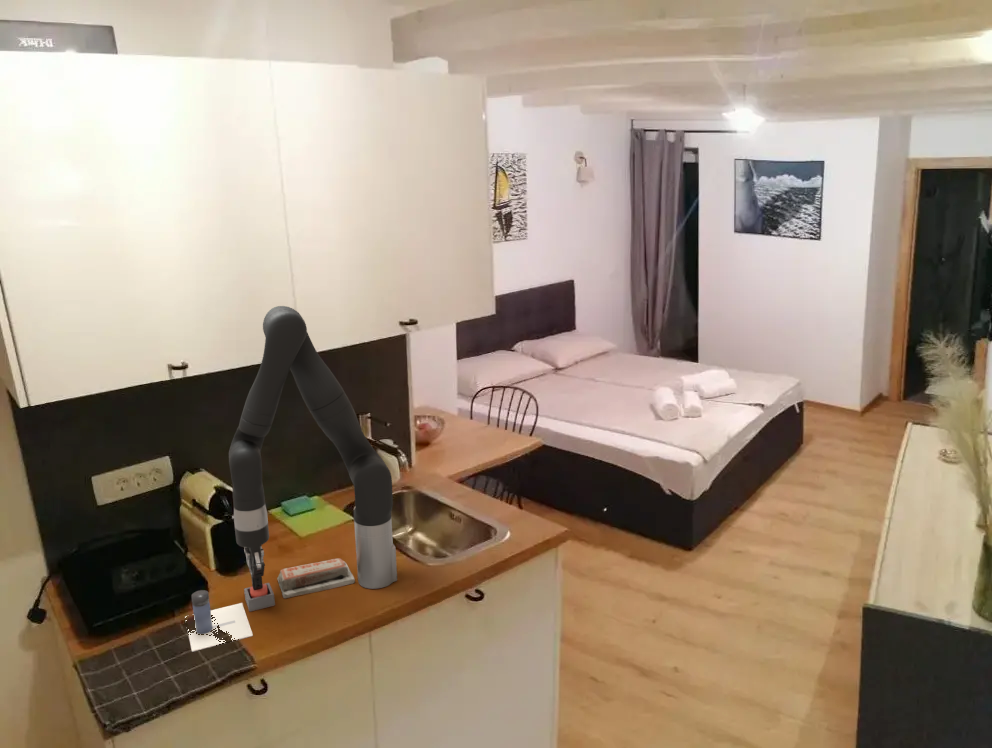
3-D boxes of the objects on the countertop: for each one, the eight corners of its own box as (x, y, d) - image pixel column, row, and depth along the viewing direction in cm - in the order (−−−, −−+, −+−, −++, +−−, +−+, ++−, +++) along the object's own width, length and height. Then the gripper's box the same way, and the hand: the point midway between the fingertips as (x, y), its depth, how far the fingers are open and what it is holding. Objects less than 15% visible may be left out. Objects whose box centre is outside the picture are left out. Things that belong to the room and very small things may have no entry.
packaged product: (281, 583, 191) (275, 564, 200) (283, 601, 192) (277, 581, 201) (354, 567, 198) (345, 550, 207) (355, 584, 199) (346, 566, 208)
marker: (211, 623, 182) (207, 588, 180) (213, 631, 179) (209, 596, 177) (195, 627, 181) (190, 592, 178) (196, 635, 178) (192, 600, 175)
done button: (266, 593, 193) (265, 582, 192) (269, 601, 190) (268, 589, 189) (249, 597, 192) (248, 586, 191) (252, 605, 188) (251, 593, 187)
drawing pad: (242, 603, 190) (241, 602, 190) (252, 635, 177) (252, 635, 177) (185, 617, 185) (184, 616, 185) (192, 652, 172) (191, 651, 172)
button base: (270, 593, 195) (269, 582, 194) (275, 605, 190) (273, 594, 189) (245, 599, 192) (244, 588, 191) (249, 611, 187) (248, 600, 186)
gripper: (273, 530, 181) (279, 597, 186) (262, 508, 192) (268, 572, 197) (239, 537, 178) (246, 605, 182) (230, 514, 189) (237, 579, 194)
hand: (257, 588), depth 190 cm, fingers closed
